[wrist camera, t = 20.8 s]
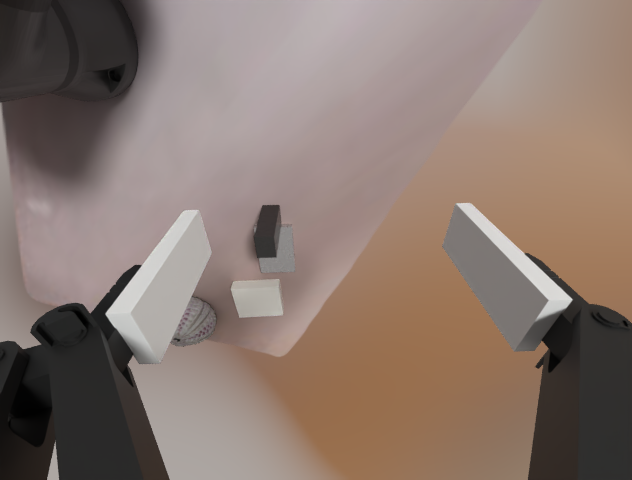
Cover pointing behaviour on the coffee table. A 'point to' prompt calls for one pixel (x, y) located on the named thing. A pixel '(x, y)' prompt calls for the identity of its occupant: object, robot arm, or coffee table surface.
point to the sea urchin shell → (194, 323)
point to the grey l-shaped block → (274, 241)
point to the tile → (258, 298)
